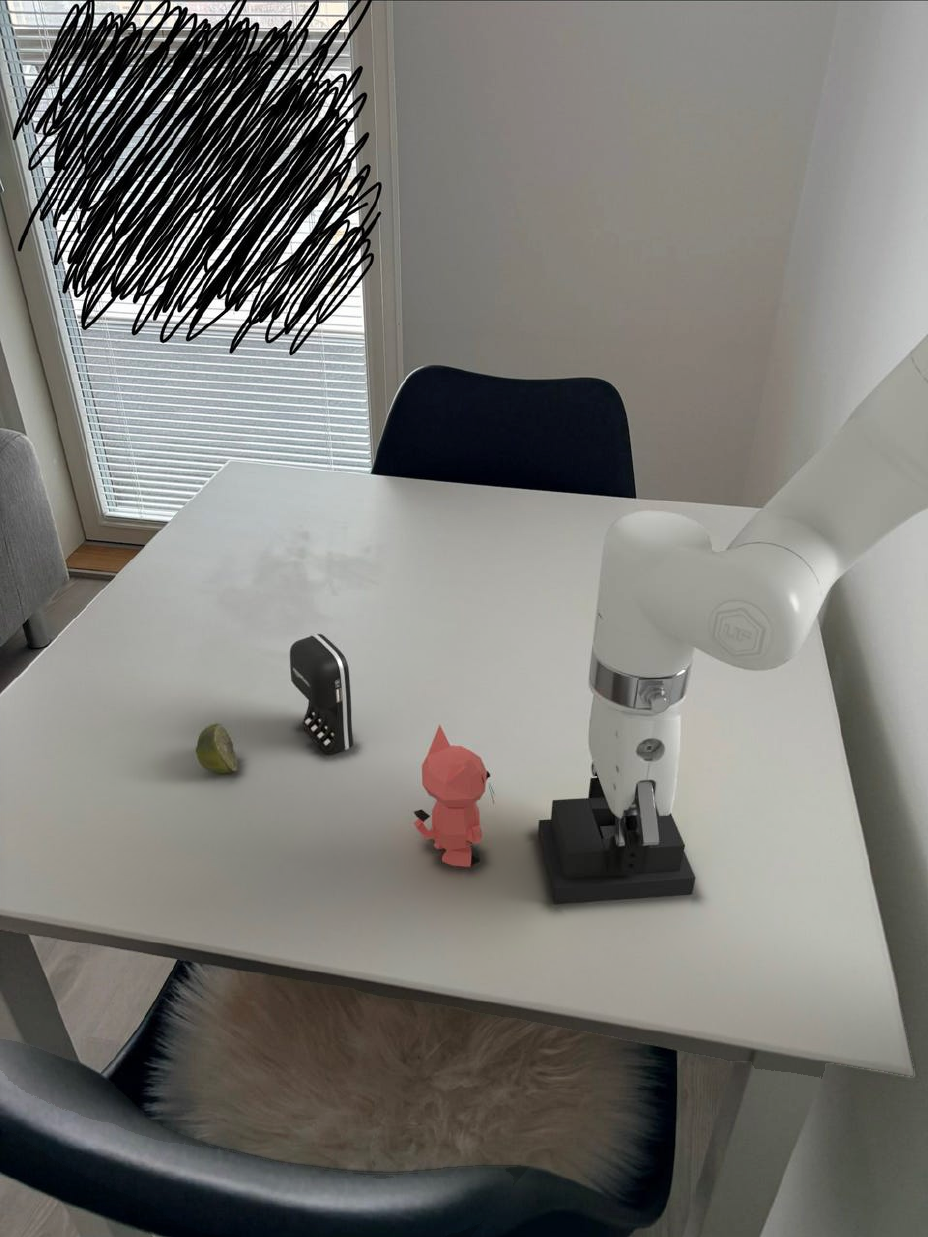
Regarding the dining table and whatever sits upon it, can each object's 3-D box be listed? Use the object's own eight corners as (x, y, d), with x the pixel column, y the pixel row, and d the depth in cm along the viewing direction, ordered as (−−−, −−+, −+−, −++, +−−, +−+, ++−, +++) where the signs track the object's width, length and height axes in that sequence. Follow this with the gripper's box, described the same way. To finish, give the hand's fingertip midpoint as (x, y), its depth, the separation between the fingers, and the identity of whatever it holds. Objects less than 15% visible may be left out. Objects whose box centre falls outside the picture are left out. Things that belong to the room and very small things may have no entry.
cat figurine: (503, 865, 77) (509, 759, 71) (431, 889, 75) (431, 781, 69) (470, 813, 83) (473, 711, 77) (402, 834, 80) (399, 730, 74)
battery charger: (292, 727, 94) (282, 637, 88) (324, 715, 96) (316, 626, 90) (322, 762, 89) (314, 669, 83) (355, 749, 91) (350, 657, 85)
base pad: (664, 827, 82) (669, 799, 80) (692, 894, 75) (698, 865, 73) (537, 835, 80) (539, 807, 79) (554, 904, 74) (557, 874, 72)
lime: (227, 747, 91) (221, 708, 88) (254, 769, 88) (249, 729, 85) (188, 767, 88) (181, 728, 85) (216, 790, 85) (209, 750, 82)
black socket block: (658, 818, 80) (662, 793, 78) (680, 871, 74) (685, 845, 73) (550, 825, 79) (552, 799, 77) (564, 879, 73) (567, 853, 72)
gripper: (727, 739, 60) (687, 918, 69) (654, 612, 75) (629, 773, 84) (620, 744, 59) (595, 925, 68) (567, 615, 74) (552, 777, 83)
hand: (614, 840), depth 76 cm, fingers closed on black socket block, 6 cm apart
